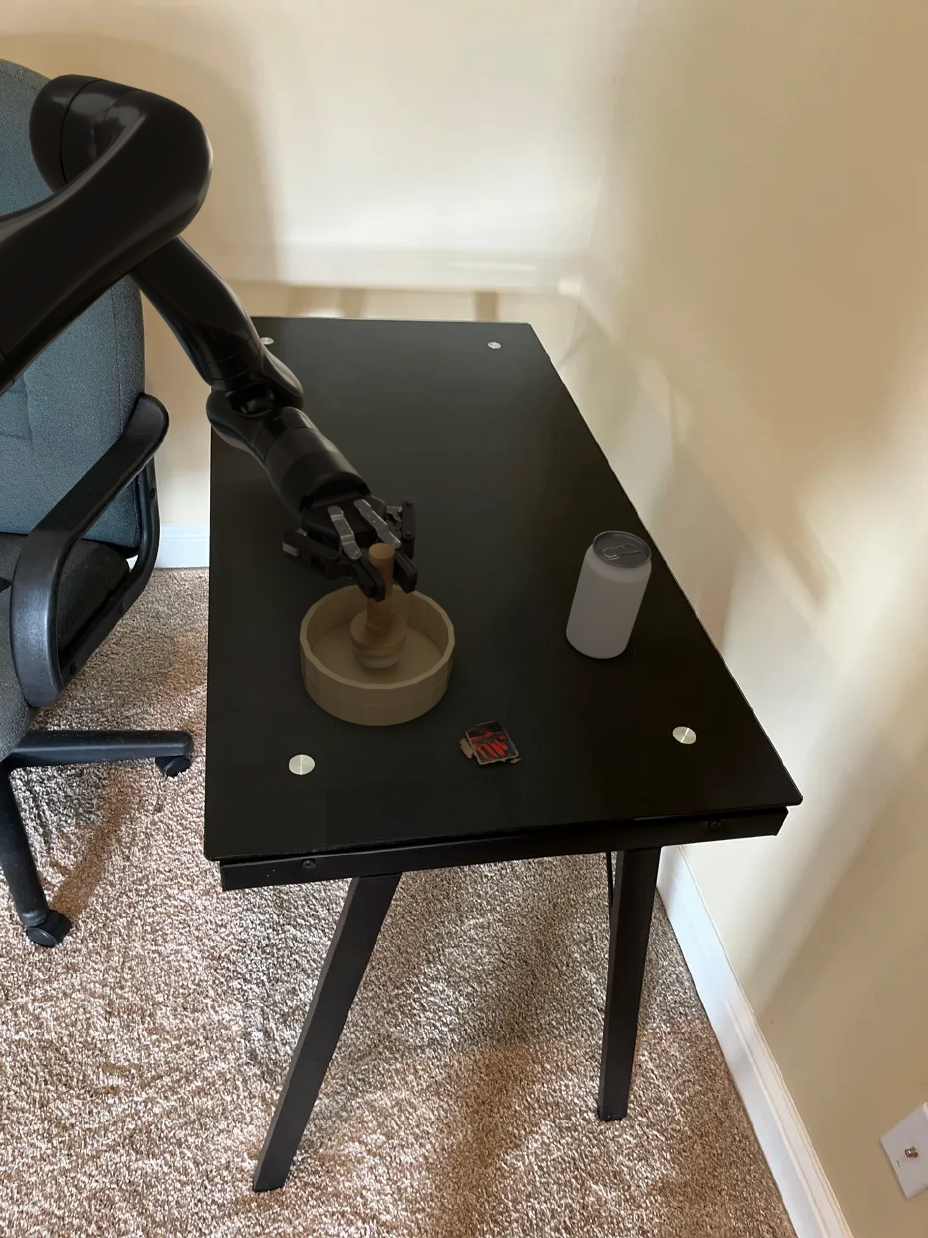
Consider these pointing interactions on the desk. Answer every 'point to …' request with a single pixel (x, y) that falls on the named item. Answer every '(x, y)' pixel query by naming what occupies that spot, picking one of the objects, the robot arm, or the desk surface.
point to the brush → (379, 619)
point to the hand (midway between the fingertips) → (396, 589)
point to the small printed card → (489, 743)
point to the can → (609, 594)
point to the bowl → (376, 690)
